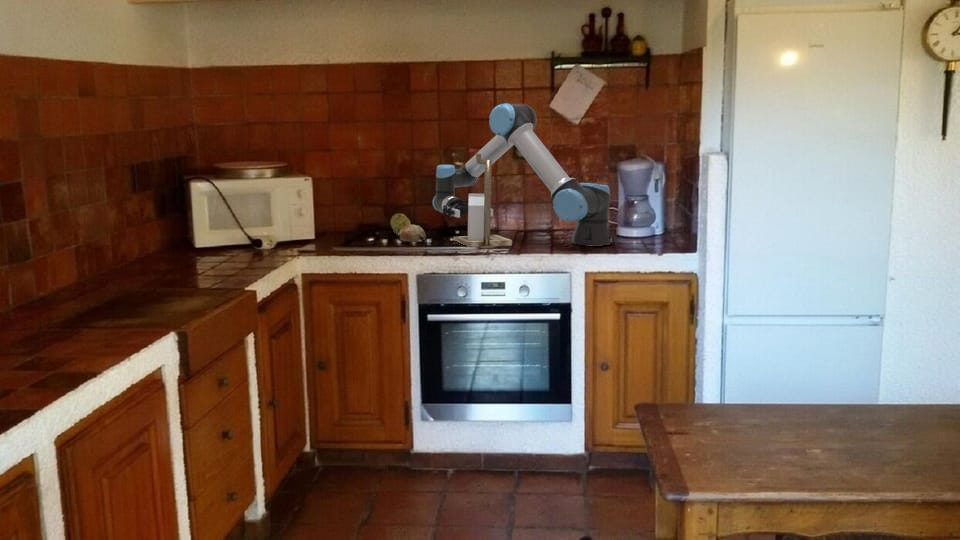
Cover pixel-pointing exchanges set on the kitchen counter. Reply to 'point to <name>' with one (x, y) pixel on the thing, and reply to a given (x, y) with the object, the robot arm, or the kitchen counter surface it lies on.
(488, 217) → the hook post
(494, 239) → the shelf board
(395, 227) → the green oval lump
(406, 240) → the bread roll
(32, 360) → the kitchen counter surface
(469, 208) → the milk carton
